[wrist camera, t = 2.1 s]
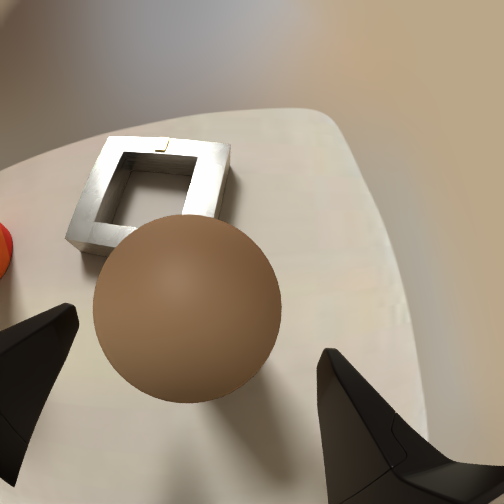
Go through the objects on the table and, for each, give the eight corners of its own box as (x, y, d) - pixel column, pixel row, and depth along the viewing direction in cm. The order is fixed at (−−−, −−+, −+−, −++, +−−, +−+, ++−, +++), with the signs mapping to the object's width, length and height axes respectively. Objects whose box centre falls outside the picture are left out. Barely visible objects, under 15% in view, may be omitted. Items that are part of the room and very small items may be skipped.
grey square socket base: (207, 274, 19) (204, 260, 16) (80, 251, 18) (63, 237, 16) (230, 165, 22) (230, 142, 19) (117, 155, 22) (108, 134, 19)
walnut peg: (242, 375, 17) (267, 416, 5) (173, 363, 16) (79, 374, 5) (252, 306, 18) (290, 224, 7) (185, 296, 18) (121, 201, 7)
